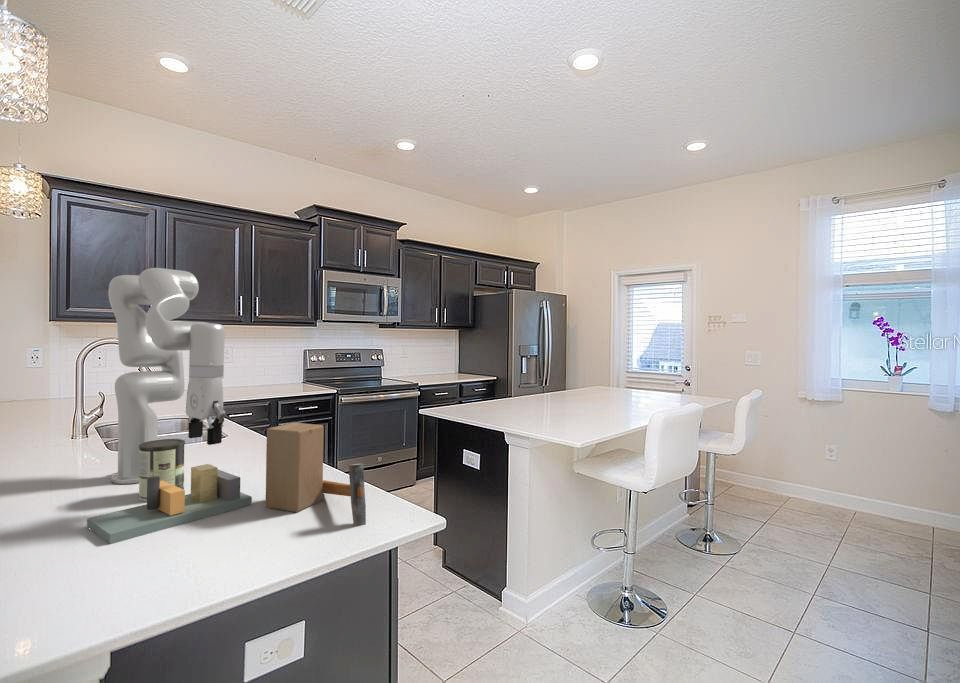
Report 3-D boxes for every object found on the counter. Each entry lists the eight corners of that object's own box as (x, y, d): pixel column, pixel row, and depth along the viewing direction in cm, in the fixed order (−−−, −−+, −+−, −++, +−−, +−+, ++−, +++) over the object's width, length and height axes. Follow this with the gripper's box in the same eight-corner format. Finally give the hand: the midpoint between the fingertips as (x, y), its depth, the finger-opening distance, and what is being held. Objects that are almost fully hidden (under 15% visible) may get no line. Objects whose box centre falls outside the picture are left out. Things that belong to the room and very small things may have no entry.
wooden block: (323, 500, 127) (324, 424, 127) (297, 513, 117) (298, 431, 117) (292, 495, 130) (293, 422, 130) (264, 507, 121) (265, 428, 121)
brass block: (190, 499, 120) (191, 467, 120) (207, 495, 123) (207, 464, 123) (200, 503, 117) (200, 470, 117) (216, 499, 120) (217, 467, 120)
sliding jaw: (136, 506, 113) (137, 474, 113) (162, 500, 118) (162, 469, 118) (158, 518, 106) (158, 484, 106) (184, 511, 111) (185, 478, 111)
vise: (86, 527, 106) (87, 494, 106) (224, 493, 131) (224, 466, 131) (110, 544, 98) (110, 508, 98) (251, 504, 123) (252, 475, 123)
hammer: (312, 463, 135) (353, 465, 111) (321, 462, 136) (364, 463, 113) (315, 514, 132) (357, 527, 109) (324, 512, 134) (368, 524, 110)
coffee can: (168, 487, 135) (169, 437, 135) (192, 492, 131) (193, 441, 131) (129, 497, 126) (129, 444, 126) (153, 504, 121) (154, 448, 121)
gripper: (174, 370, 122) (172, 437, 122) (207, 376, 112) (205, 449, 112) (205, 369, 128) (203, 433, 128) (239, 374, 118) (237, 443, 118)
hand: (204, 440), depth 120 cm, fingers open, 9 cm apart
